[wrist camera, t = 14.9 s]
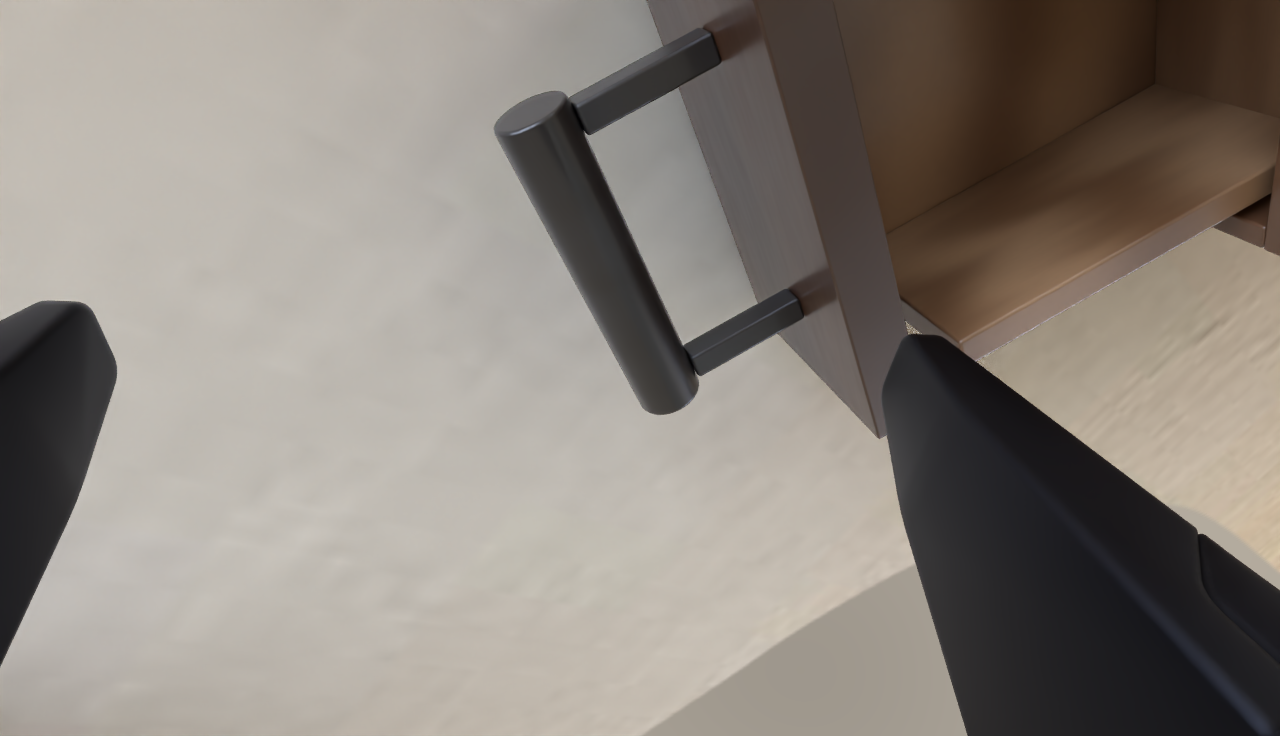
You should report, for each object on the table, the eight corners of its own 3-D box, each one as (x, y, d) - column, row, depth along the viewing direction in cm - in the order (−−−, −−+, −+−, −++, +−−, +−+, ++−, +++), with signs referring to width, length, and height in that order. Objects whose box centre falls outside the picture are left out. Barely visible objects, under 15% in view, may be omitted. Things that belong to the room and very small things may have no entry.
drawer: (631, 393, 22) (714, 534, 17) (411, -13, 15) (452, 46, 10) (1147, 104, 22) (1355, 168, 18) (1157, -409, 16) (1495, -512, 11)
